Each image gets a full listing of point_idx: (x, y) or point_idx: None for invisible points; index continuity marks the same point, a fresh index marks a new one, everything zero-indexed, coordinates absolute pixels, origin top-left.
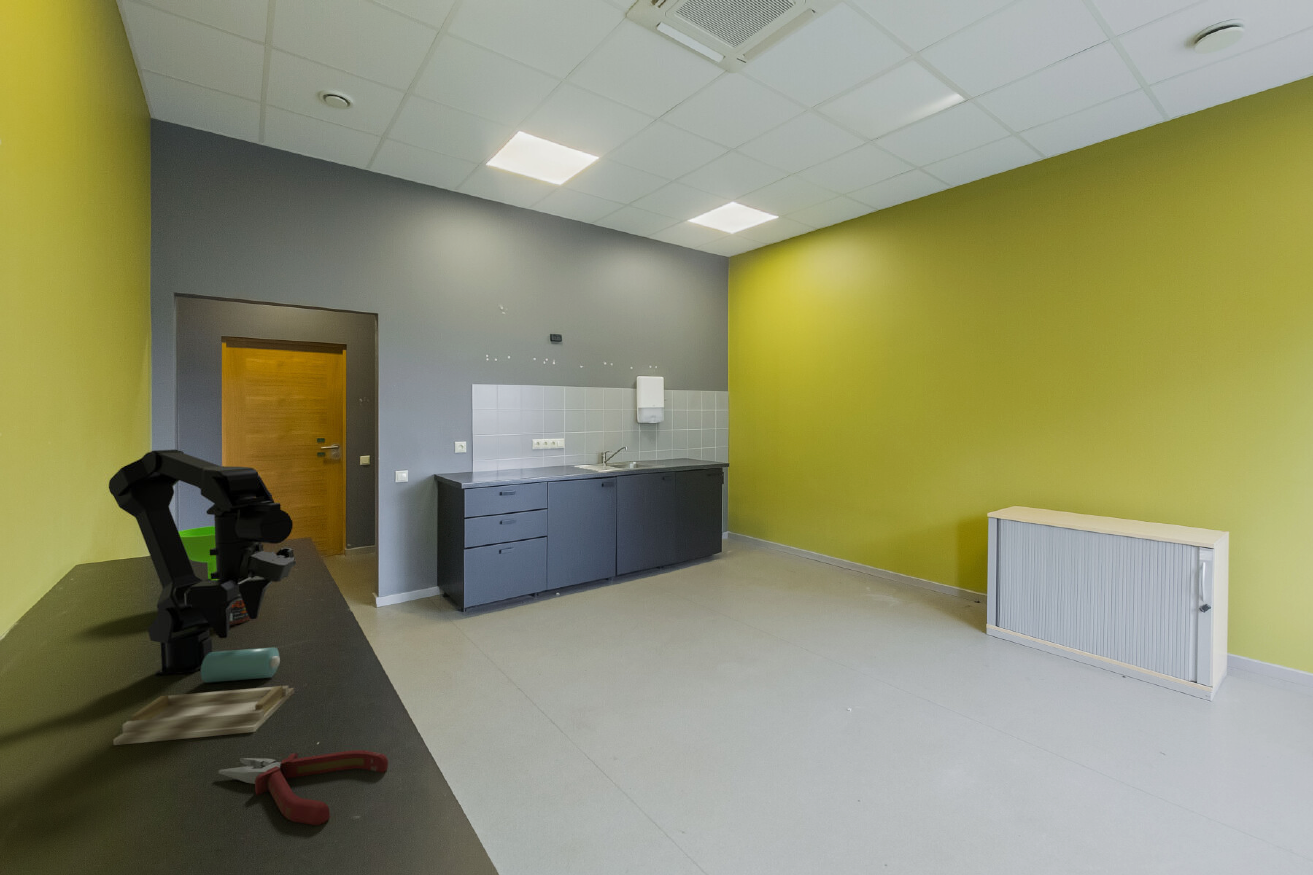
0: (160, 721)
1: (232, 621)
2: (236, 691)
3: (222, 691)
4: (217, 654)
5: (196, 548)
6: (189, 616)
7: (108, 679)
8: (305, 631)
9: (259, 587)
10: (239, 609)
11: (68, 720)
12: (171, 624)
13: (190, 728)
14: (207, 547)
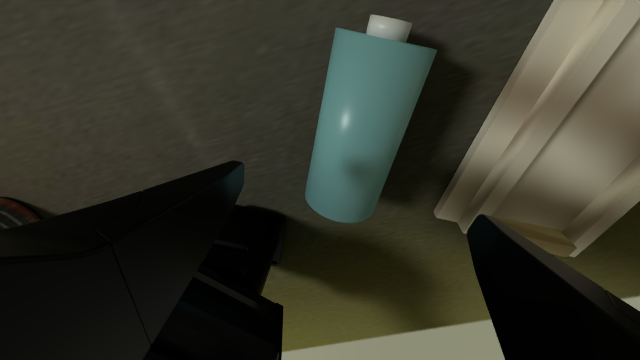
0: (629, 207)
1: (32, 221)
2: (575, 89)
3: (537, 129)
4: (355, 201)
5: None
6: (257, 347)
7: (272, 300)
8: (32, 32)
9: (82, 291)
10: None
11: (410, 302)
12: (281, 352)
13: None
14: None
